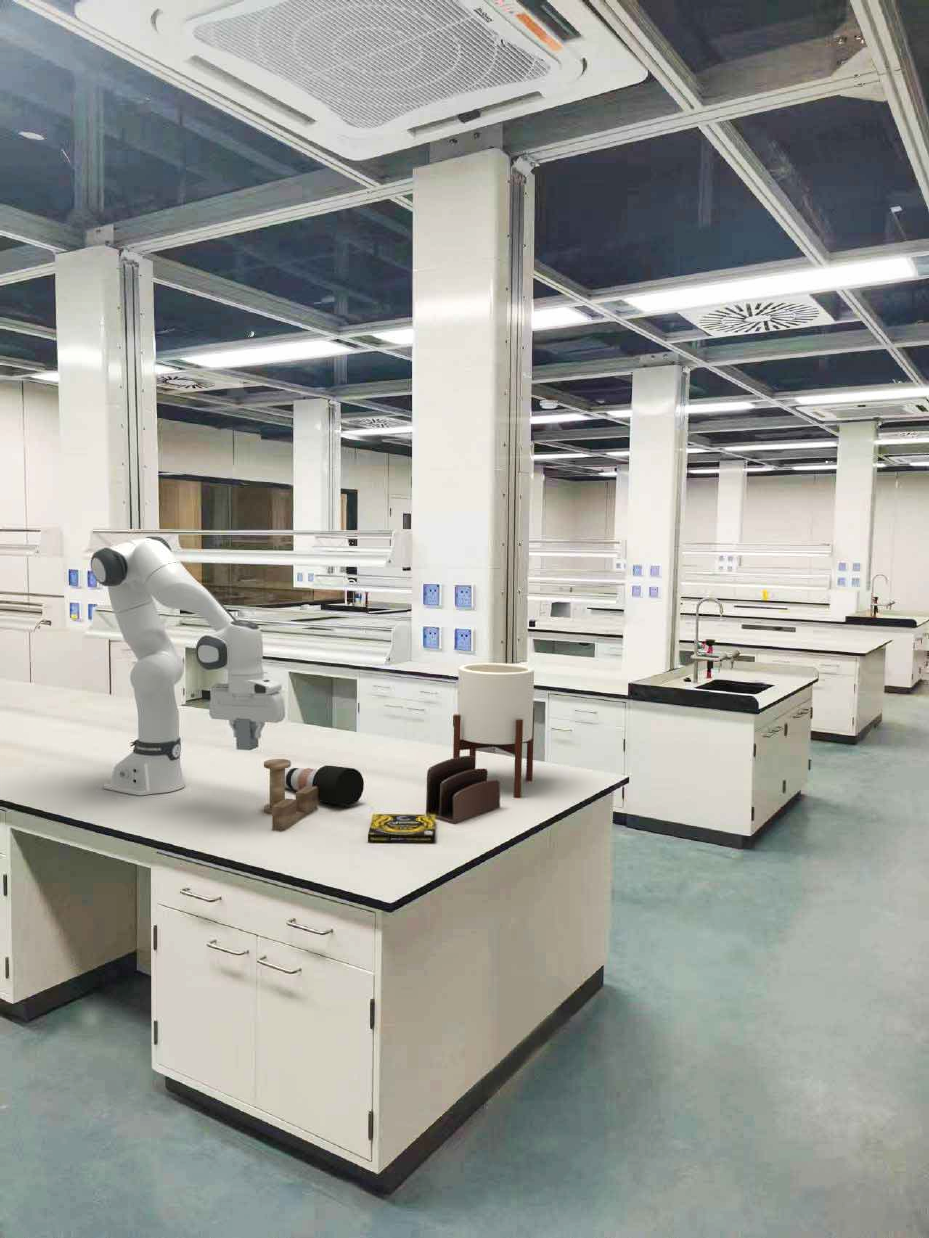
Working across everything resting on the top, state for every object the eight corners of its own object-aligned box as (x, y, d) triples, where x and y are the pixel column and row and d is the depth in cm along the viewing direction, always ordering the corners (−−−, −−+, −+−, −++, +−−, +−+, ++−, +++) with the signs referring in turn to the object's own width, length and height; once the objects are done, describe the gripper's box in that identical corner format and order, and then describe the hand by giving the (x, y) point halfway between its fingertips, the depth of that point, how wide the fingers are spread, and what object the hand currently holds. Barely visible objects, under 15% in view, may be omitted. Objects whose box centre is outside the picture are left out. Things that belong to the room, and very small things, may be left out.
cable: (283, 797, 252) (294, 764, 255) (357, 810, 229) (368, 774, 233) (257, 787, 245) (269, 754, 249) (330, 799, 223) (342, 763, 226)
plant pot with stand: (537, 779, 261) (540, 665, 258) (522, 799, 239) (525, 675, 236) (467, 773, 267) (469, 661, 264) (446, 792, 245) (449, 670, 242)
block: (236, 749, 215) (235, 718, 215) (244, 745, 219) (243, 715, 218) (250, 750, 214) (249, 719, 213) (258, 746, 218) (257, 716, 217)
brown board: (272, 829, 209) (272, 806, 208) (307, 807, 227) (307, 785, 227) (283, 831, 208) (283, 807, 207) (317, 808, 227) (317, 786, 226)
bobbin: (258, 812, 222) (259, 764, 221) (271, 805, 229) (271, 758, 228) (282, 815, 220) (283, 766, 219) (295, 807, 227) (295, 760, 226)
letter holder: (425, 816, 222) (426, 764, 221) (472, 800, 238) (473, 751, 237) (453, 825, 216) (454, 771, 215) (500, 808, 231) (501, 757, 230)
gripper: (203, 684, 215) (205, 737, 216) (275, 688, 209) (276, 742, 210) (217, 680, 221) (218, 732, 222) (287, 684, 215) (288, 737, 217)
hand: (247, 737), depth 216 cm, fingers closed on block, 4 cm apart
